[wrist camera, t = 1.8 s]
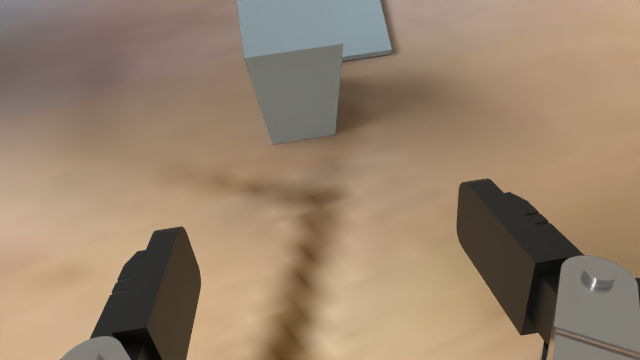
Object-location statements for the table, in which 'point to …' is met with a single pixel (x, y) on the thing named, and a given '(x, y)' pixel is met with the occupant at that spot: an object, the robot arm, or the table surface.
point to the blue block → (293, 64)
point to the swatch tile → (362, 29)
